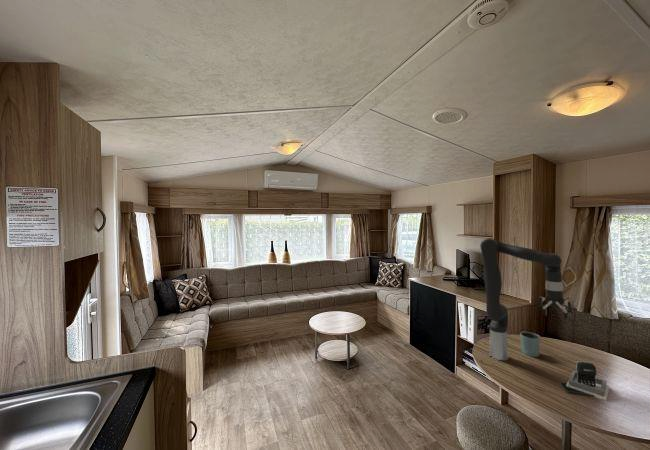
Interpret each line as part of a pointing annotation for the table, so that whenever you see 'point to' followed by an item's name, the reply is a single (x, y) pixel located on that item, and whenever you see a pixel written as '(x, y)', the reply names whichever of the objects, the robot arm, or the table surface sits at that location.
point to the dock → (590, 387)
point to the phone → (573, 390)
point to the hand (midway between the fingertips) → (555, 317)
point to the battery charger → (586, 373)
